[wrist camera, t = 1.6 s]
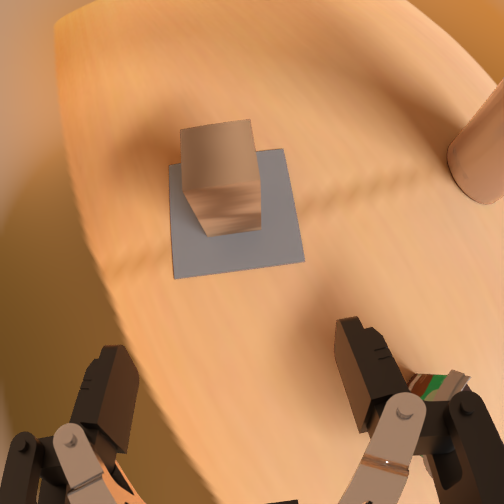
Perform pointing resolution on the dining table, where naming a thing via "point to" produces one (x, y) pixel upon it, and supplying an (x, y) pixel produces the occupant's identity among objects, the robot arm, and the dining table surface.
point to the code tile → (239, 244)
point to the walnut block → (222, 177)
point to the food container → (438, 390)
